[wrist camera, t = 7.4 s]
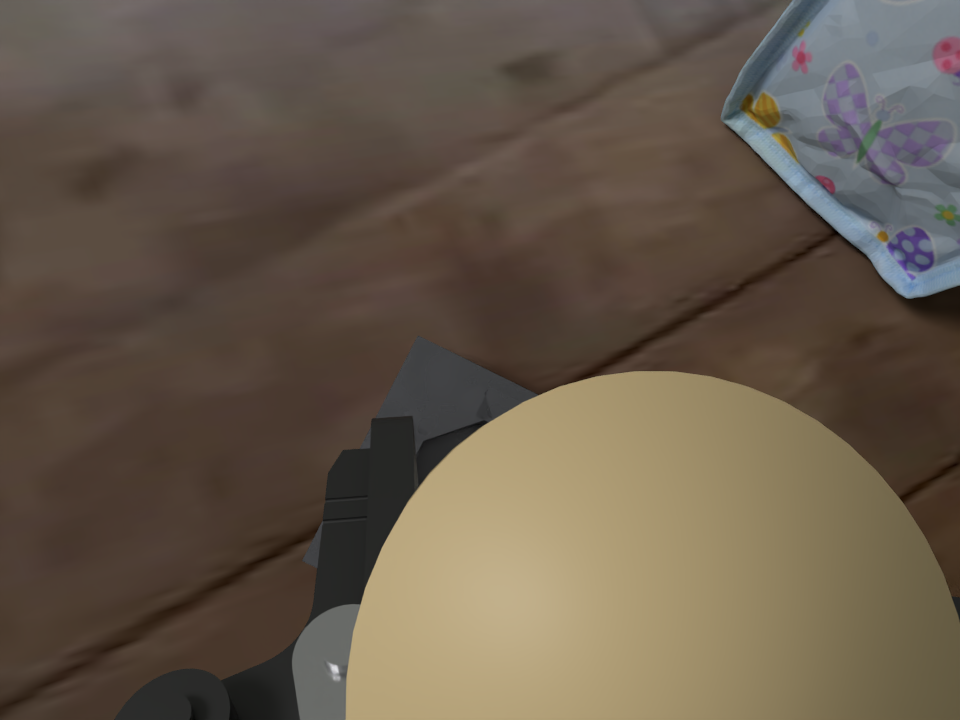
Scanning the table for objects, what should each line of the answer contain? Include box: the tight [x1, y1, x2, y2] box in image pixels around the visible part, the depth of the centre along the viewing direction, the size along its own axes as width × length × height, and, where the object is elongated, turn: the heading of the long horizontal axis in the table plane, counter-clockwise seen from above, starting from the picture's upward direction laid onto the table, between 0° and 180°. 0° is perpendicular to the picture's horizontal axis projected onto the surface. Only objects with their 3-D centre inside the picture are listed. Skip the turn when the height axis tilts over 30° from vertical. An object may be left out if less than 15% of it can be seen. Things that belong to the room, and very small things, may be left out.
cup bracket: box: [302, 336, 539, 568], centre depth 26 cm, size 10×10×6 cm
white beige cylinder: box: [346, 371, 960, 720], centre depth 11 cm, size 5×5×12 cm
